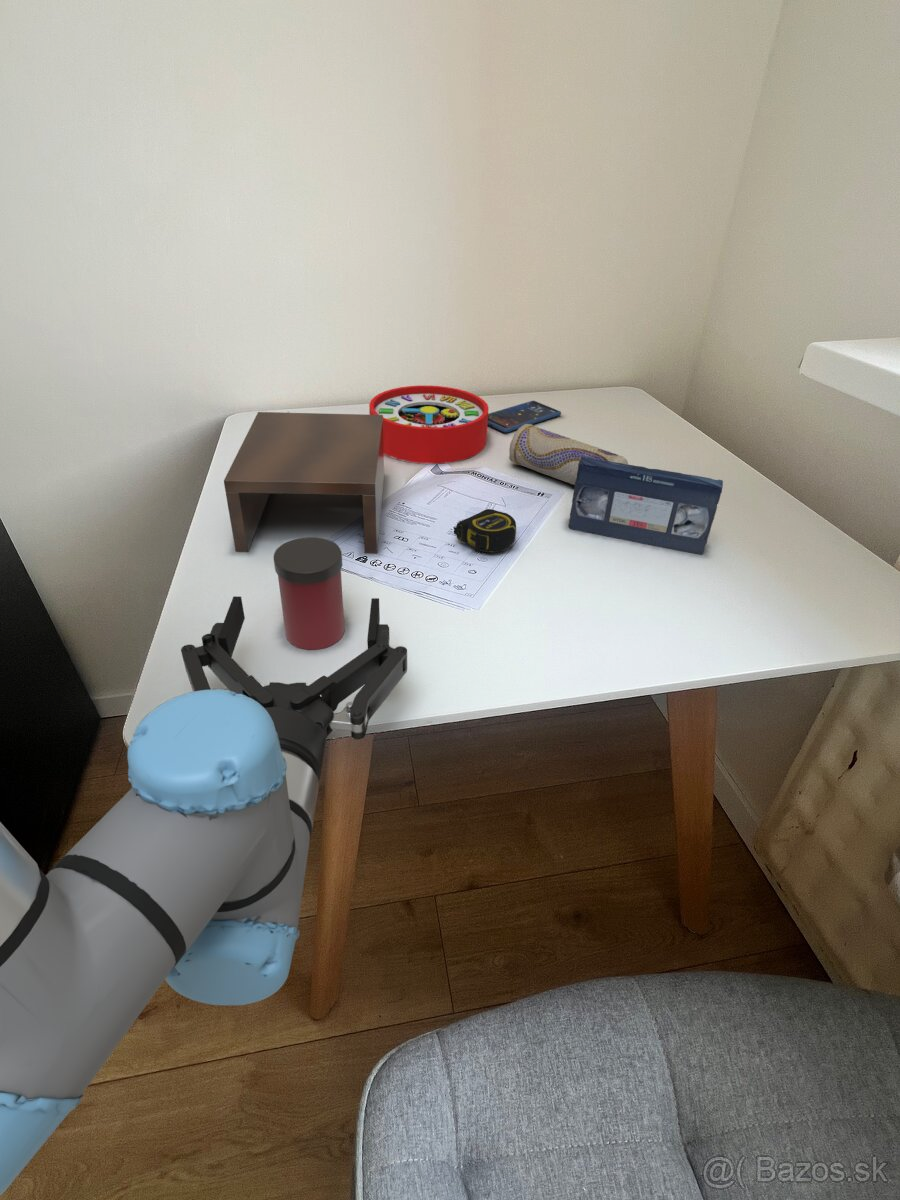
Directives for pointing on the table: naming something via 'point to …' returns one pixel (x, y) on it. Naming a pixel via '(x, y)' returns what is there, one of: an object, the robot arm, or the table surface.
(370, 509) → the shelf
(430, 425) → the toy clock
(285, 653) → the table surface
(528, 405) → the smartphone
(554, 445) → the decorative bottle
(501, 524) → the tape measure
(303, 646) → the canister
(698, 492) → the vhs cassette tape
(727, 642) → the table surface
